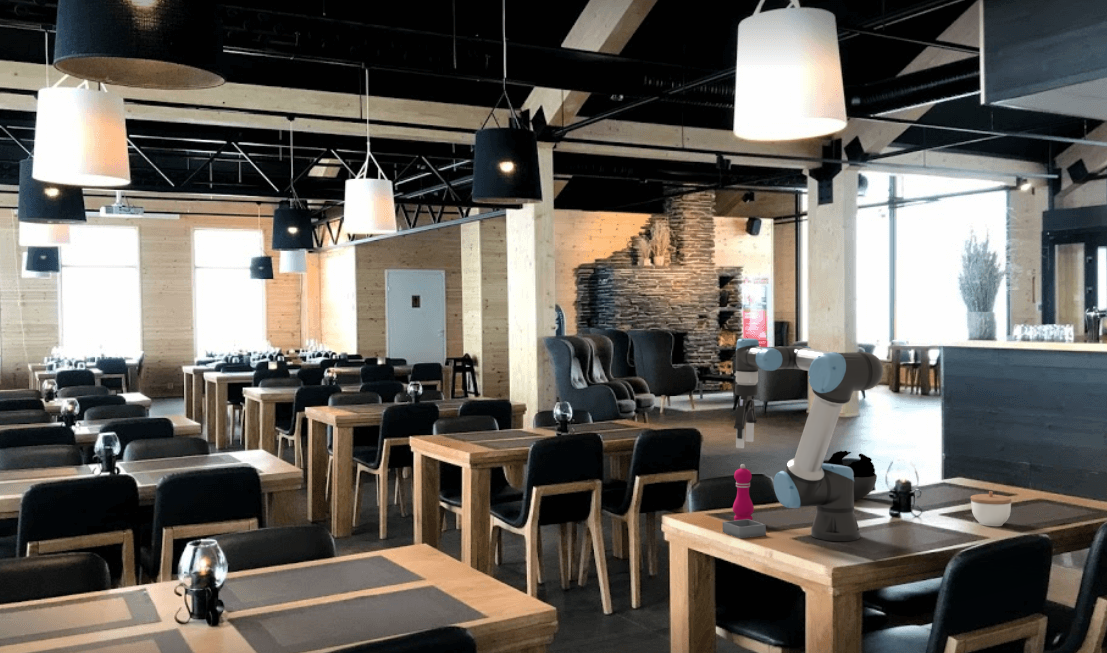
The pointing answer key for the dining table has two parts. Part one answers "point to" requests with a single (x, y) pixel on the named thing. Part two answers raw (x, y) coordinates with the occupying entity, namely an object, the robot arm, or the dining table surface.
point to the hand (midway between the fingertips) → (744, 444)
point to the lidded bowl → (991, 508)
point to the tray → (744, 528)
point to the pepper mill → (743, 495)
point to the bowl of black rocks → (858, 473)
